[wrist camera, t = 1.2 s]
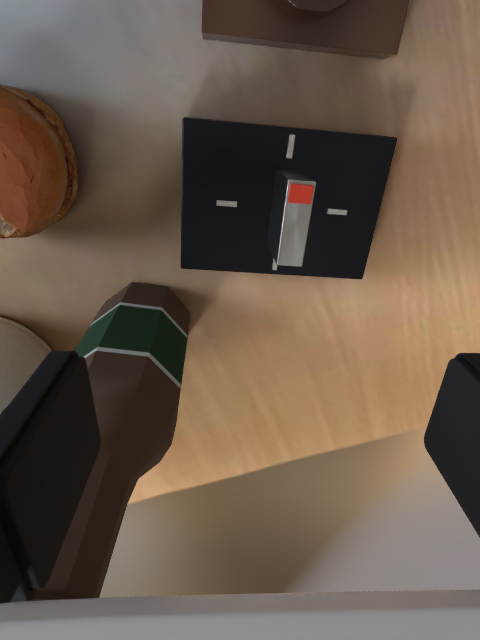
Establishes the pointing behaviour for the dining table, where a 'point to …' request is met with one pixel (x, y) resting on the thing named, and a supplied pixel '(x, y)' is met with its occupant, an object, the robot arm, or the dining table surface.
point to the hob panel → (257, 191)
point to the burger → (33, 165)
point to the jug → (17, 358)
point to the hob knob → (290, 216)
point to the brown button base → (309, 24)
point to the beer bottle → (122, 424)
